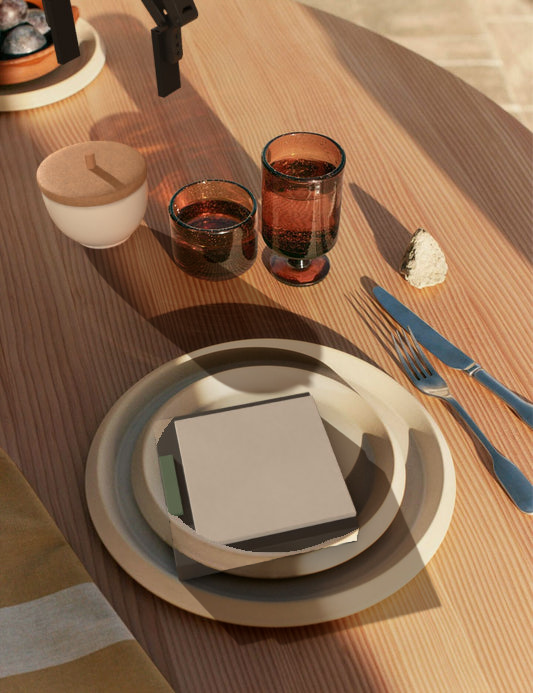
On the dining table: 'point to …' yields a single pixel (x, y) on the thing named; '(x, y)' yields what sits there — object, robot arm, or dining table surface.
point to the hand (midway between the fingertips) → (117, 75)
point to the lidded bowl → (95, 191)
